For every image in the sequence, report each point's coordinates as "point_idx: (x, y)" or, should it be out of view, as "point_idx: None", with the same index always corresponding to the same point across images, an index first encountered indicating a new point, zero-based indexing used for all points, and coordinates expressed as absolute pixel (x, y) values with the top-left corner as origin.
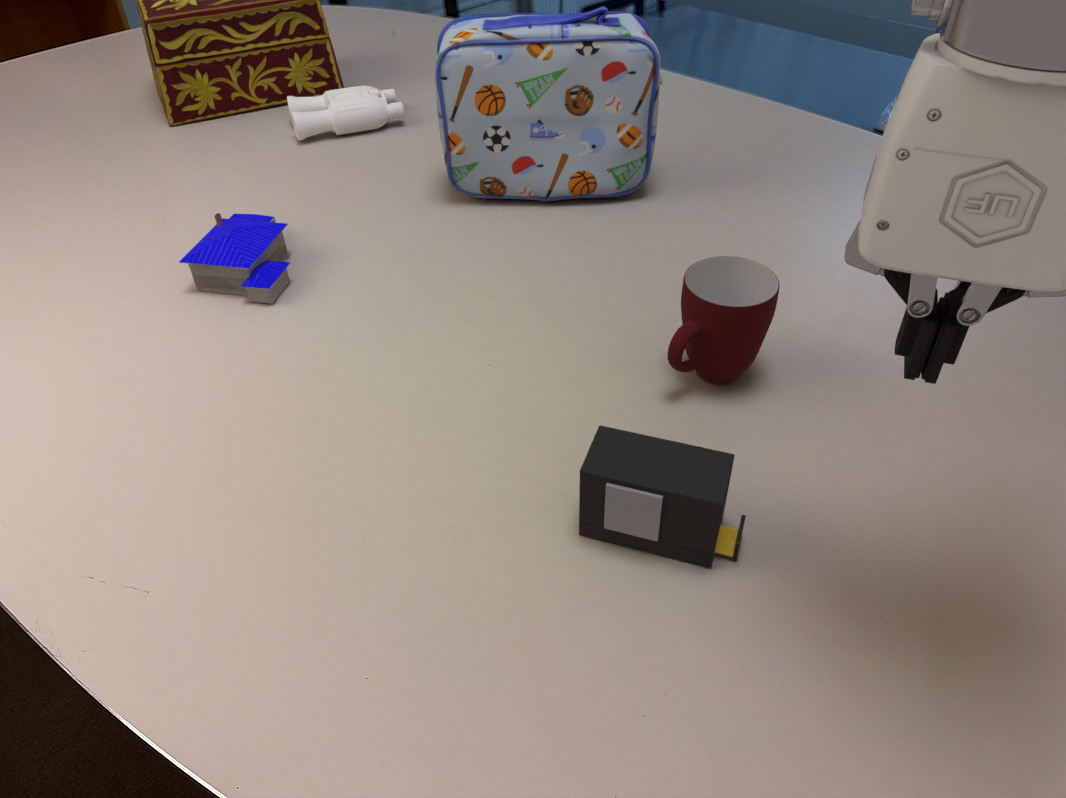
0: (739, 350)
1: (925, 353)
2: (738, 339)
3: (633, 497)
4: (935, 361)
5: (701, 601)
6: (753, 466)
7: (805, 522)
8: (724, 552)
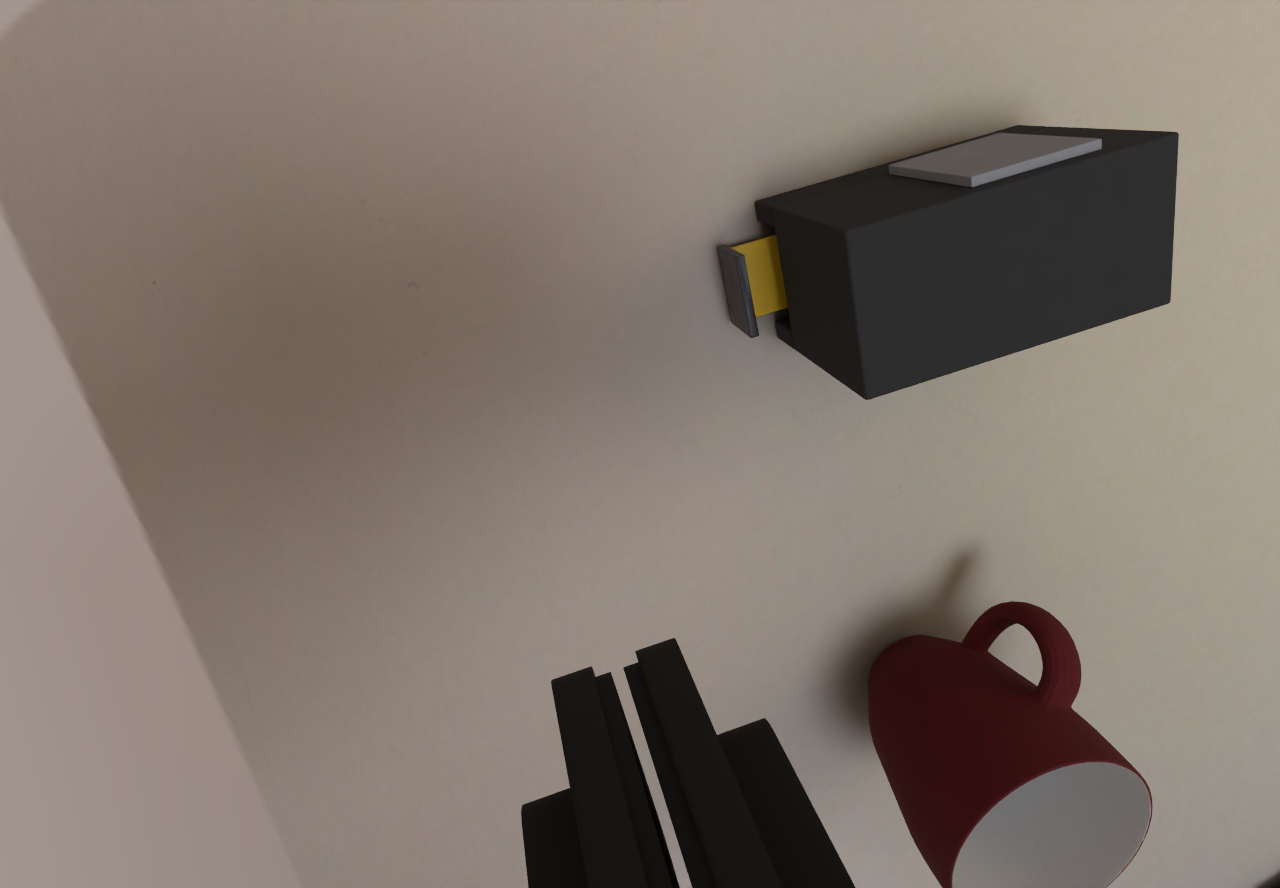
0: (926, 708)
1: (667, 766)
2: (951, 724)
3: (1023, 157)
4: (604, 755)
5: (741, 110)
6: (768, 496)
7: (631, 425)
8: (747, 247)
